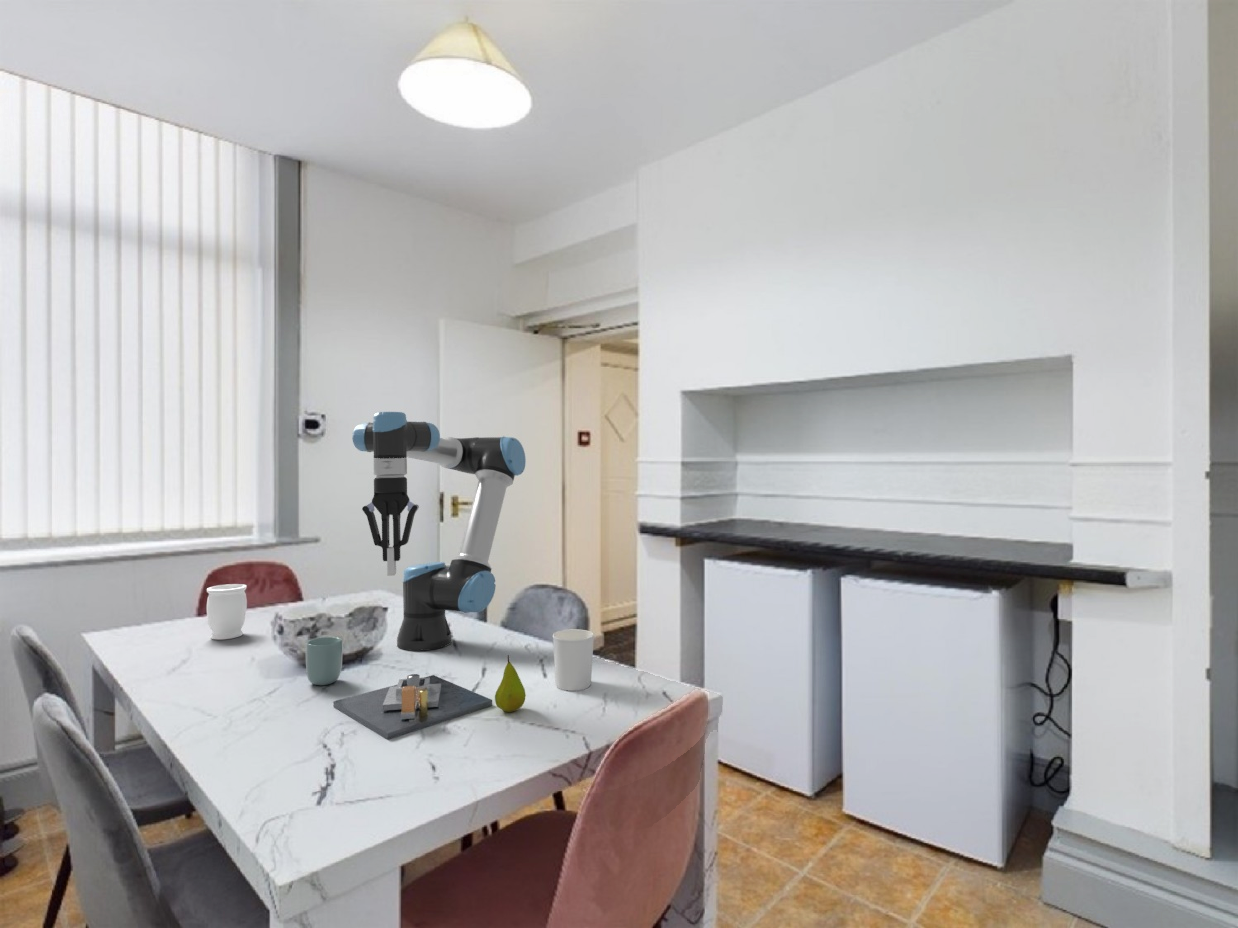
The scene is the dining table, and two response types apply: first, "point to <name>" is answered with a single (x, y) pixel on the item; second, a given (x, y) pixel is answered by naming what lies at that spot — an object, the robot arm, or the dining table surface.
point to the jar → (226, 610)
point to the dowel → (422, 703)
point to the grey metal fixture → (411, 697)
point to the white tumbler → (573, 659)
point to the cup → (323, 660)
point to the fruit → (510, 690)
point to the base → (390, 723)
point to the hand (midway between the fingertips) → (391, 574)
